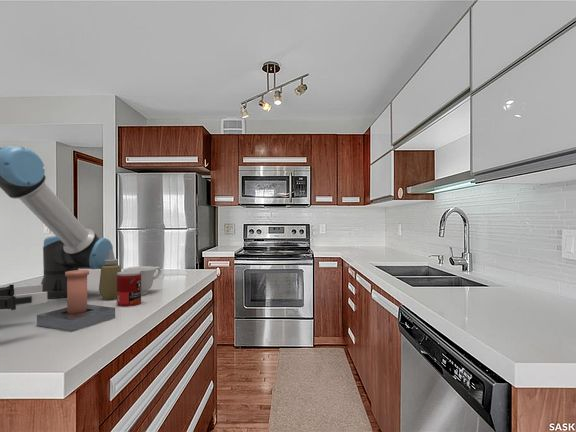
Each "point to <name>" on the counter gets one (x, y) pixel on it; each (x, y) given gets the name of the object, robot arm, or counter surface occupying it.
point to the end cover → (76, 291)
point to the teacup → (145, 276)
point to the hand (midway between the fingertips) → (44, 292)
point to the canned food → (128, 288)
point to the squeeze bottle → (109, 277)
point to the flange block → (75, 318)
